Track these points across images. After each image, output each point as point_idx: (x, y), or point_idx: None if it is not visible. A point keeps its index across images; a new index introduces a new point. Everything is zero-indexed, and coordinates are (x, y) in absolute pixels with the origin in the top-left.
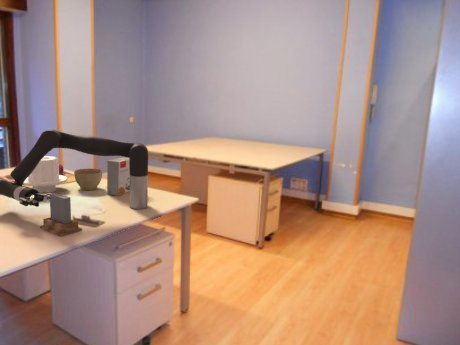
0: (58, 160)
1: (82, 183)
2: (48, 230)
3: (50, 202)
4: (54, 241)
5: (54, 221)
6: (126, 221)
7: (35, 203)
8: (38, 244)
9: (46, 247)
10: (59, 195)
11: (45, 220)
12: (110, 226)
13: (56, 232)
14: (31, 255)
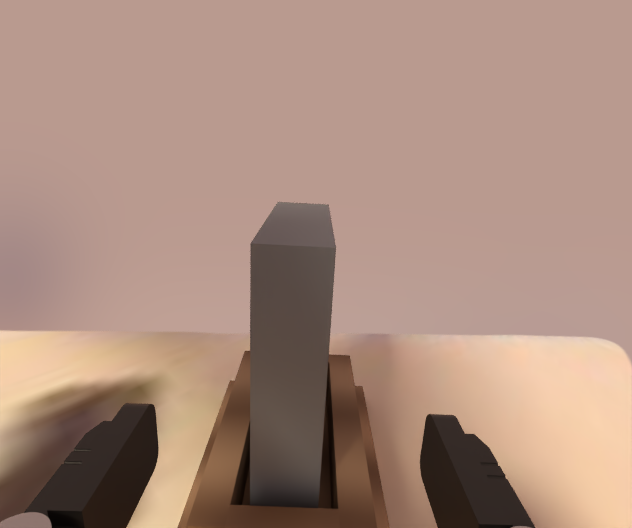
0: None
1: None
2: (379, 488)
3: (328, 336)
4: (413, 382)
5: (338, 425)
6: (11, 346)
7: (473, 440)
8: (489, 399)
9: (464, 365)
10: (297, 220)
11: (372, 503)
12: (116, 352)
13: (367, 413)
14: (531, 355)
